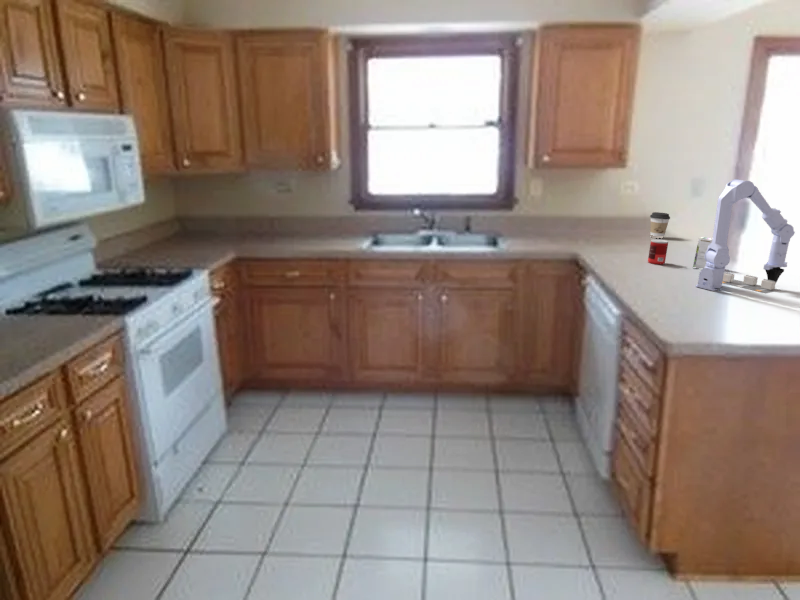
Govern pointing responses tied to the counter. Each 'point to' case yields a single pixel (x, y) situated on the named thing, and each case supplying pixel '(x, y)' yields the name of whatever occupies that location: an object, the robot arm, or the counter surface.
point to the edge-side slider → (768, 284)
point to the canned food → (657, 251)
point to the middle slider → (750, 280)
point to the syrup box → (701, 252)
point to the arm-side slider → (728, 277)
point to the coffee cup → (659, 223)
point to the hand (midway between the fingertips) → (771, 285)
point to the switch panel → (749, 286)
